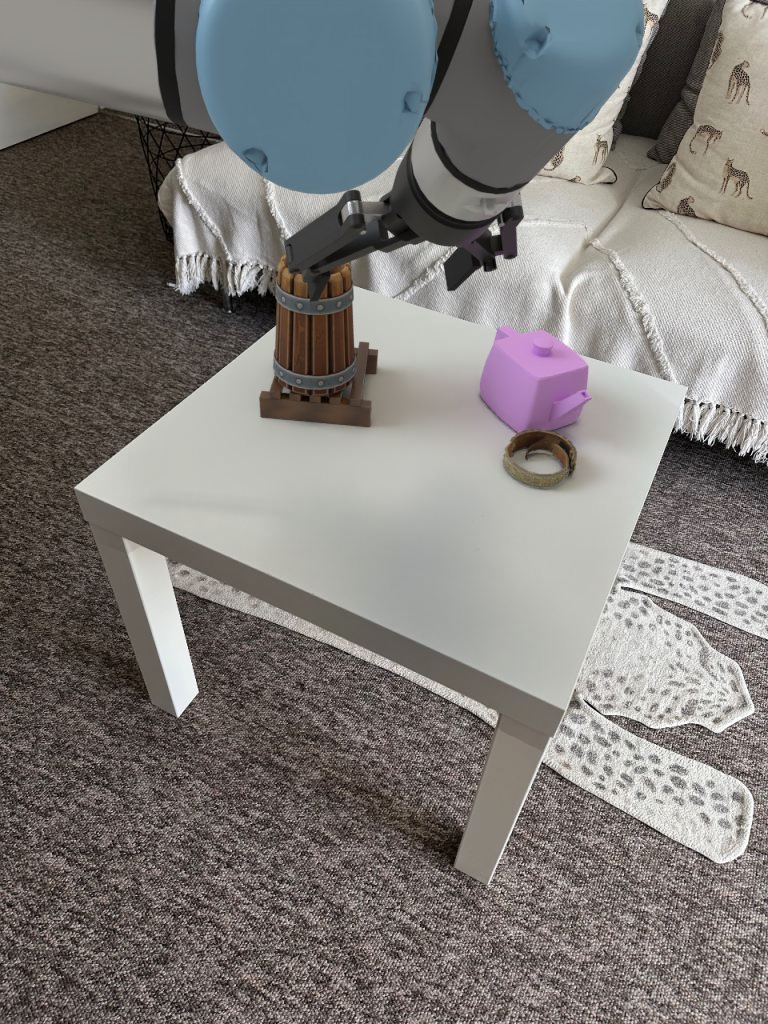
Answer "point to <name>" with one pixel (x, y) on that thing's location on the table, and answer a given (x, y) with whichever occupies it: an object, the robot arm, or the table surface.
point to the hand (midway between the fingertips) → (382, 282)
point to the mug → (314, 333)
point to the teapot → (534, 380)
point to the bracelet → (536, 441)
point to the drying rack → (325, 398)
